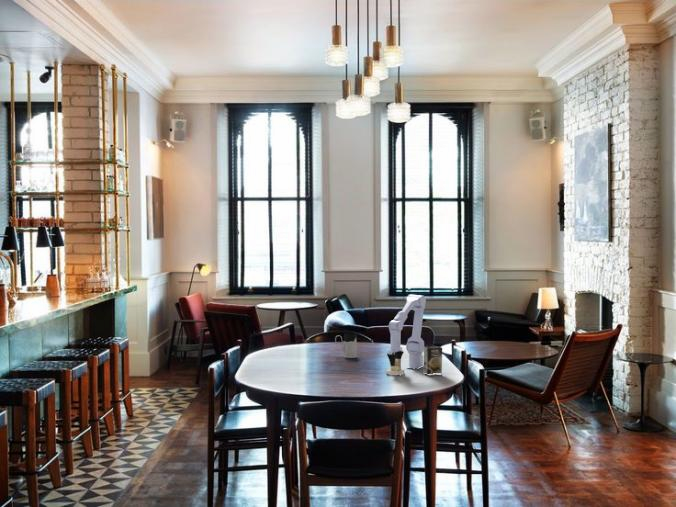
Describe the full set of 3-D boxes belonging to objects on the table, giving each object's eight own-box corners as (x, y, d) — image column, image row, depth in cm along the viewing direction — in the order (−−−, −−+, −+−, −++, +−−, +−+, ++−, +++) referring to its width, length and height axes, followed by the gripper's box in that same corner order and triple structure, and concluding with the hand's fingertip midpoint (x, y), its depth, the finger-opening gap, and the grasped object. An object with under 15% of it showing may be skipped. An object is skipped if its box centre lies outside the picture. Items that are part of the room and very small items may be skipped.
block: (393, 368, 388) (393, 358, 387) (400, 369, 386) (400, 359, 385) (390, 370, 384) (390, 359, 383) (397, 371, 382) (397, 360, 381)
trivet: (391, 372, 390) (391, 367, 390) (404, 373, 386) (404, 369, 386) (385, 374, 383) (385, 370, 383) (398, 376, 379) (398, 371, 379)
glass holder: (357, 357, 430) (357, 334, 430) (334, 357, 430) (335, 334, 430) (356, 355, 439) (357, 332, 438) (335, 354, 439) (335, 332, 439)
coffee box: (427, 376, 380) (427, 348, 379) (423, 373, 386) (423, 346, 385) (442, 375, 382) (442, 347, 382) (437, 373, 389) (438, 345, 388)
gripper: (396, 343, 376) (396, 367, 376) (407, 340, 388) (406, 363, 389) (385, 342, 379) (385, 366, 380) (395, 339, 392) (395, 362, 392)
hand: (395, 364), depth 385 cm, fingers open, 7 cm apart
